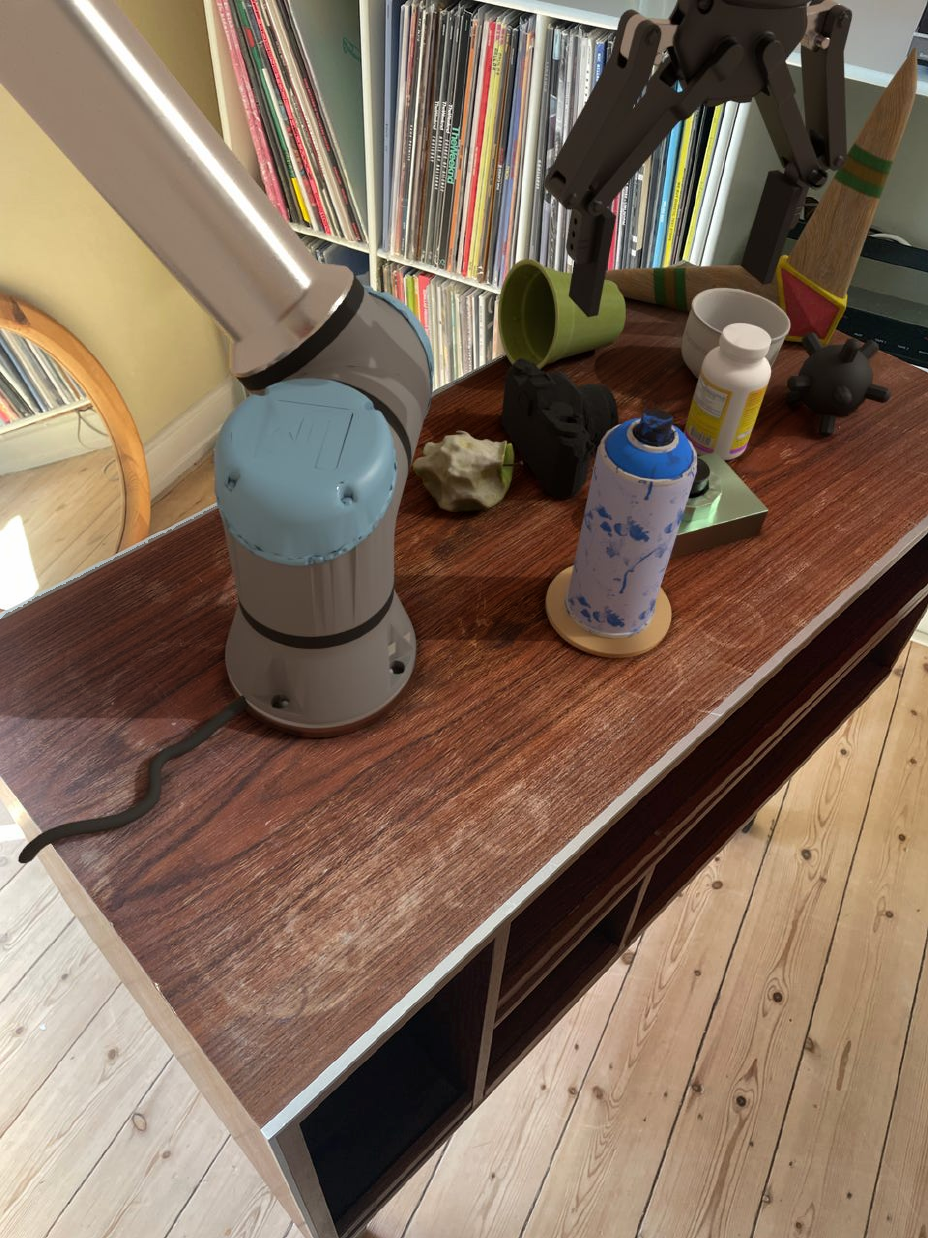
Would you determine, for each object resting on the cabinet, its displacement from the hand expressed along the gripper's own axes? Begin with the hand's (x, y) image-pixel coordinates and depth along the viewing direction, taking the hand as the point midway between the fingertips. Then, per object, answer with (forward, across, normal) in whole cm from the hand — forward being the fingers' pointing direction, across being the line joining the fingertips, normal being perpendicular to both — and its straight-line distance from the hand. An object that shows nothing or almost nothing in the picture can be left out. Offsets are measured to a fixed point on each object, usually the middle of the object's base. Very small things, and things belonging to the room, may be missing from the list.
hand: (672, 290), depth 63 cm
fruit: (+29, -7, +15) cm, 33 cm away
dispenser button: (+24, +11, +5) cm, 27 cm away
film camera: (+29, +5, +18) cm, 34 cm away
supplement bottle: (+29, +21, +14) cm, 38 cm away
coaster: (+29, -1, -3) cm, 29 cm away
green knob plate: (+29, +12, +5) cm, 31 cm away
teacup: (+29, +28, +23) cm, 46 cm away
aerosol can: (+28, -1, -3) cm, 28 cm away
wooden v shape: (+3, +31, +24) cm, 39 cm away
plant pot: (+25, +19, +34) cm, 46 cm away
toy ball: (+26, +38, +19) cm, 50 cm away
